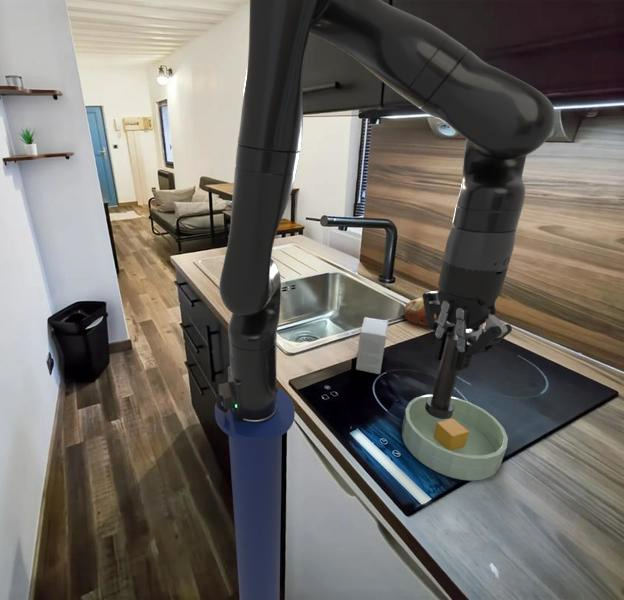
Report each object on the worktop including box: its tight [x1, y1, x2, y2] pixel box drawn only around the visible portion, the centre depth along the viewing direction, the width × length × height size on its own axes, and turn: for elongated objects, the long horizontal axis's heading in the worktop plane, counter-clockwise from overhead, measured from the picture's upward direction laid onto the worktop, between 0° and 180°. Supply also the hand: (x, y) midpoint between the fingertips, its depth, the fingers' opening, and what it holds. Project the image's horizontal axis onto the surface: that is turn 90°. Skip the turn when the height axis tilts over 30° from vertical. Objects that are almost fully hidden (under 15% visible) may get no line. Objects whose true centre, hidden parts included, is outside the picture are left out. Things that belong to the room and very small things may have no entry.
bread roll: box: [403, 297, 437, 327], centre depth 107 cm, size 10×10×8 cm
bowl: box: [401, 394, 509, 482], centre depth 65 cm, size 15×15×5 cm
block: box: [434, 418, 469, 451], centre depth 65 cm, size 4×4×4 cm
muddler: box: [425, 331, 459, 419], centre depth 58 cm, size 4×4×14 cm
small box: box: [355, 316, 389, 375], centre depth 87 cm, size 8×6×10 cm
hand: (449, 363), depth 57 cm, fingers closed on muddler, 2 cm apart
